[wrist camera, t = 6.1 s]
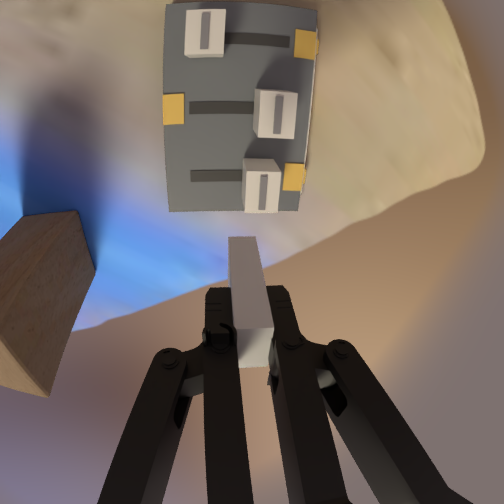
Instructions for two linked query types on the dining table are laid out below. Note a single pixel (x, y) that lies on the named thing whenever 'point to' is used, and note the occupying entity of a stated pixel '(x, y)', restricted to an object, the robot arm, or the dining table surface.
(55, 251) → the wooden block
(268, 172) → the slider
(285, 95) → the slider
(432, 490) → the robot arm
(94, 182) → the dining table surface
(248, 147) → the console
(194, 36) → the slider
